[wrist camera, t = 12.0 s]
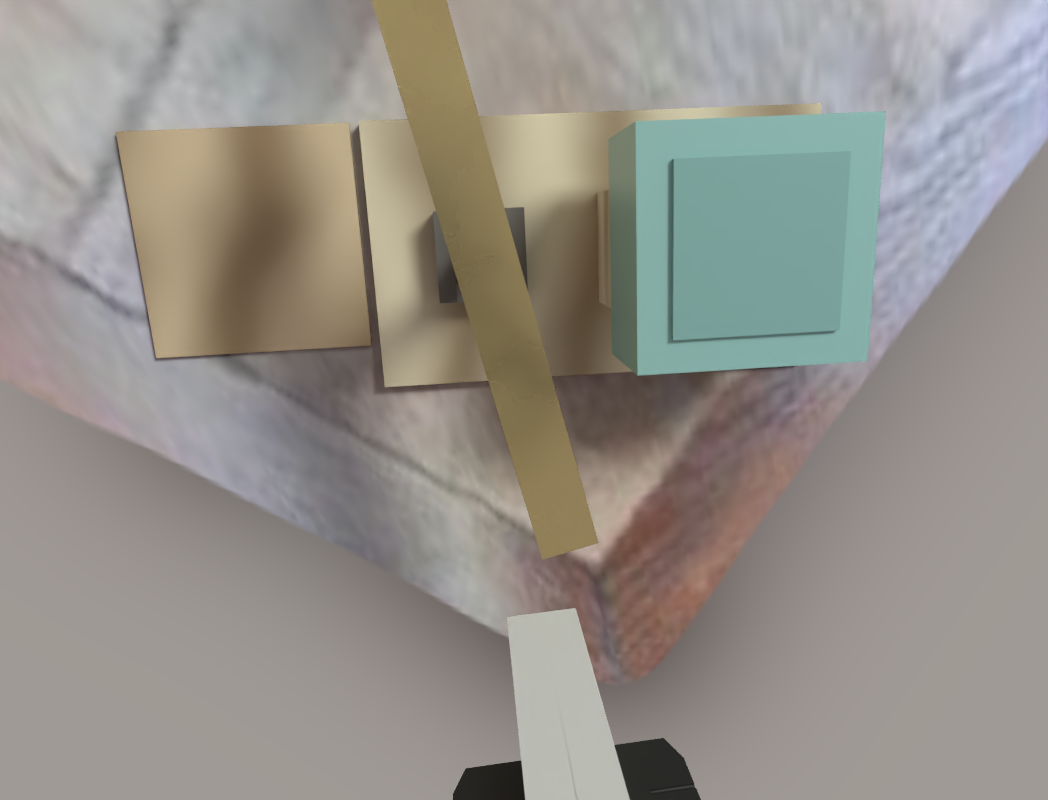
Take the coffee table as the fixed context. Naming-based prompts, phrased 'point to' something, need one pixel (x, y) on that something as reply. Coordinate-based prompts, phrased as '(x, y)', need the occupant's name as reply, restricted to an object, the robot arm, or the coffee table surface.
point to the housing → (537, 229)
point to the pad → (247, 238)
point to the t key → (486, 266)
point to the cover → (743, 241)
